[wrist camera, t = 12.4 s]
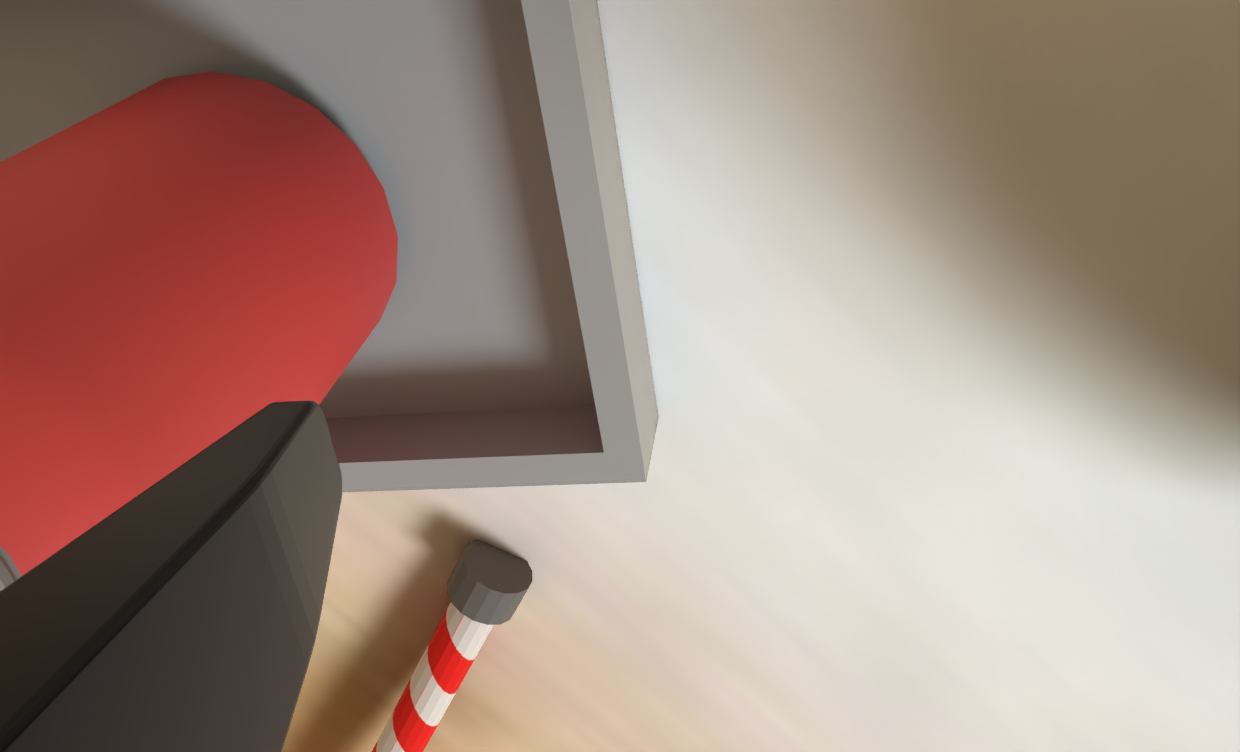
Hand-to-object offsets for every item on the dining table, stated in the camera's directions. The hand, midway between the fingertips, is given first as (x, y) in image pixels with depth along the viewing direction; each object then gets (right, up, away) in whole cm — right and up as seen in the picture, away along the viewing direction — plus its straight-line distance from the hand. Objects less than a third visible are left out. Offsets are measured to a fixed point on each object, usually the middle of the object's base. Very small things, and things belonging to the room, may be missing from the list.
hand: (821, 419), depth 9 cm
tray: (-10, +4, +13) cm, 17 cm away
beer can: (-10, +4, +13) cm, 17 cm away
